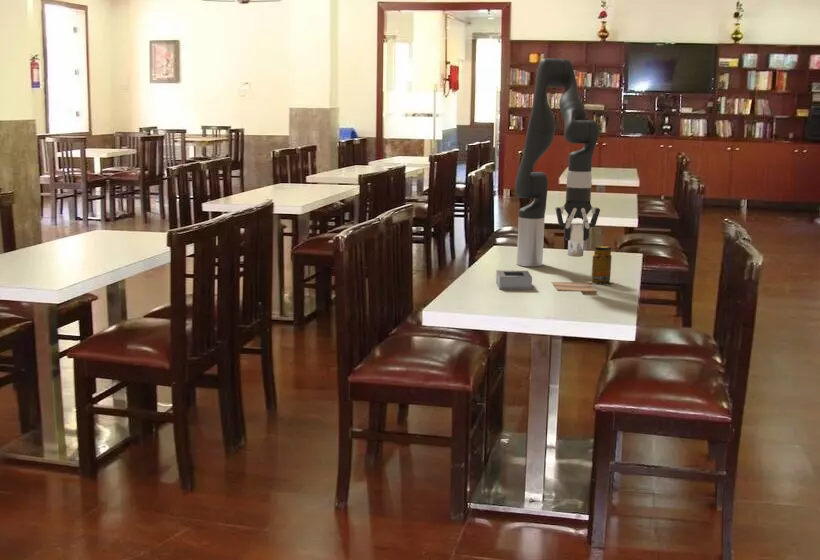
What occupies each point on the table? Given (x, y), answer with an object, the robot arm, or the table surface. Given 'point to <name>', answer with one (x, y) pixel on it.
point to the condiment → (602, 266)
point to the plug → (576, 239)
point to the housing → (513, 280)
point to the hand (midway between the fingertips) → (576, 239)
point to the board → (574, 287)
